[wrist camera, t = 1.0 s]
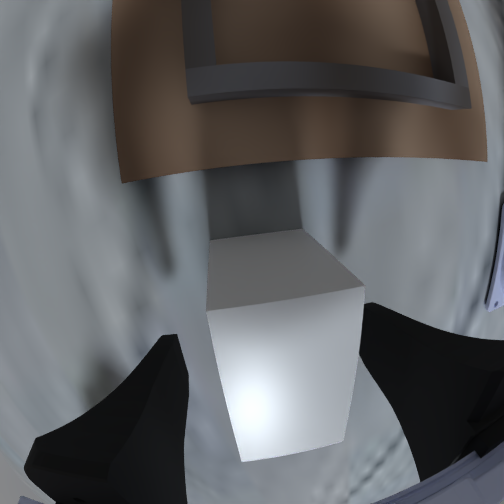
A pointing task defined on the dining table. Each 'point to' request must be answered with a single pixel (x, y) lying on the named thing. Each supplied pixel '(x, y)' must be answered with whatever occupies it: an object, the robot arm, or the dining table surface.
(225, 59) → the cradle
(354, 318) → the key block
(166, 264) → the dining table surface
